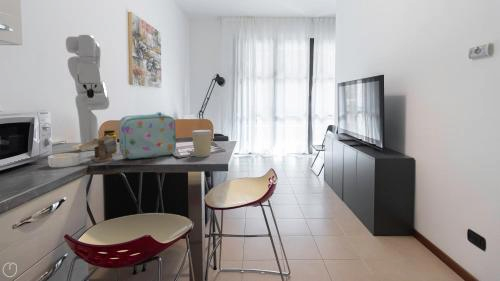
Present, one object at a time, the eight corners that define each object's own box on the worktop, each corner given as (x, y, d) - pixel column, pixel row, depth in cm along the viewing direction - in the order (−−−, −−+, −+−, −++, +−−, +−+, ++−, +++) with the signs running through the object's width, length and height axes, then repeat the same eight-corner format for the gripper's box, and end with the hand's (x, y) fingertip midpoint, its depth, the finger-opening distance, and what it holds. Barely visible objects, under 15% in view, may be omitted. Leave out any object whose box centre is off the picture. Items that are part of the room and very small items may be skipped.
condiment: (120, 152, 190) (118, 130, 188) (103, 155, 184) (102, 131, 182) (114, 151, 195) (112, 129, 193) (98, 153, 189) (96, 130, 188)
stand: (91, 159, 171) (89, 139, 170) (107, 157, 176) (106, 137, 175) (98, 162, 163) (96, 140, 161) (115, 160, 167) (113, 139, 166)
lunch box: (171, 152, 187) (168, 111, 185) (179, 154, 179) (177, 111, 176) (118, 158, 172) (115, 113, 169) (125, 161, 163) (122, 114, 161)
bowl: (46, 164, 160) (45, 155, 160) (76, 160, 168) (76, 152, 167) (52, 168, 151) (51, 158, 150) (83, 164, 158) (83, 155, 158)
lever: (76, 156, 175) (71, 144, 173) (105, 145, 183) (101, 133, 181) (85, 161, 162) (80, 147, 160) (117, 148, 170) (112, 135, 168)
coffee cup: (213, 153, 179) (212, 129, 178) (210, 156, 170) (209, 131, 169) (195, 153, 180) (194, 129, 179) (190, 157, 171) (189, 131, 170)
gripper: (101, 61, 187) (103, 97, 189) (69, 60, 177) (72, 98, 180) (105, 60, 181) (108, 97, 183) (73, 59, 172) (76, 98, 174)
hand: (90, 97), depth 181 cm, fingers closed
